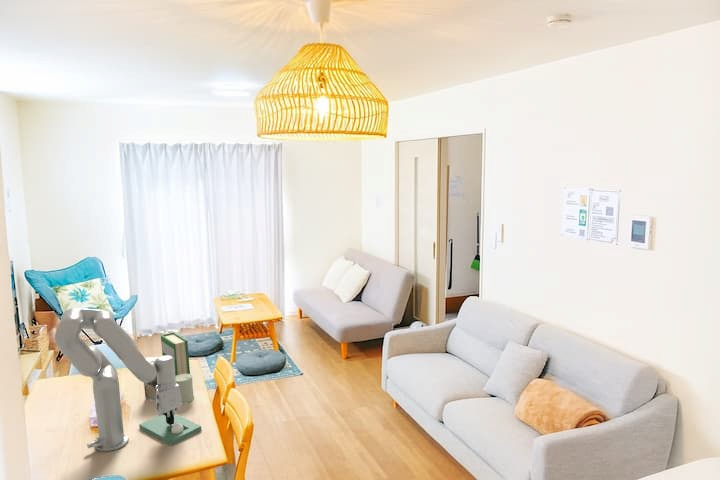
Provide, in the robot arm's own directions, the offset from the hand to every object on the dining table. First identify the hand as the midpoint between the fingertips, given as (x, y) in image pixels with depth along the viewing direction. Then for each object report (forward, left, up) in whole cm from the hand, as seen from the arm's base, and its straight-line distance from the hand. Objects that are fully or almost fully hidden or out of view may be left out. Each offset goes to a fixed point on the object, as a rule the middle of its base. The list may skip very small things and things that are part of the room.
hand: (170, 423), depth 234 cm
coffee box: (+14, +34, -3) cm, 36 cm away
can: (+21, +21, -3) cm, 30 cm away
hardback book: (+32, +43, -3) cm, 54 cm away
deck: (0, +1, -3) cm, 3 cm away
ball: (-1, -6, 0) cm, 6 cm away
